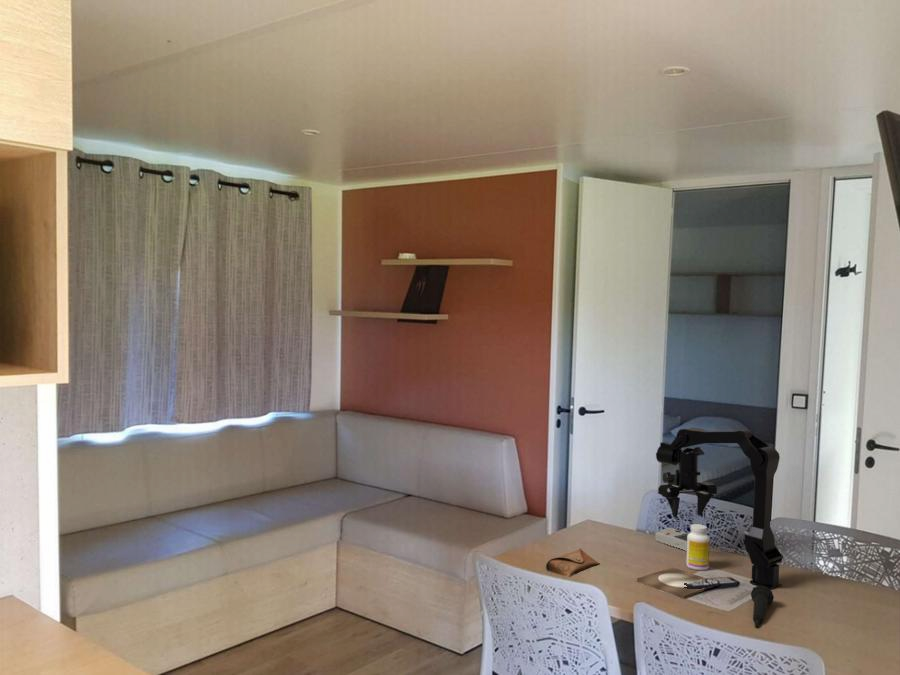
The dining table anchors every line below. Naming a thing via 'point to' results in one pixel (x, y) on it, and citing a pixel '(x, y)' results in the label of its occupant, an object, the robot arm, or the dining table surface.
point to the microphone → (760, 602)
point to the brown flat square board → (672, 582)
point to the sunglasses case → (570, 563)
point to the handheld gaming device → (672, 538)
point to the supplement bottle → (698, 548)
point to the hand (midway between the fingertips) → (687, 516)
